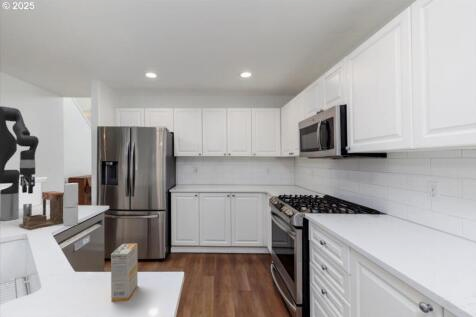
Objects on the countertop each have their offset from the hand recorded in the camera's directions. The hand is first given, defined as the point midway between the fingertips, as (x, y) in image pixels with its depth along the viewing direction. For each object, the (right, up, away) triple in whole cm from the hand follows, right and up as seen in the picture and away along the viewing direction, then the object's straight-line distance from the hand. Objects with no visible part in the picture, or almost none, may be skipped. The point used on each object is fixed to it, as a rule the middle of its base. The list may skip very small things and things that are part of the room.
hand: (27, 193), depth 151 cm
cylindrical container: (+29, -19, -3) cm, 35 cm away
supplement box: (+99, -18, -81) cm, 129 cm away
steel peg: (0, -19, 0) cm, 19 cm away
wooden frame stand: (+13, -19, -4) cm, 23 cm away
